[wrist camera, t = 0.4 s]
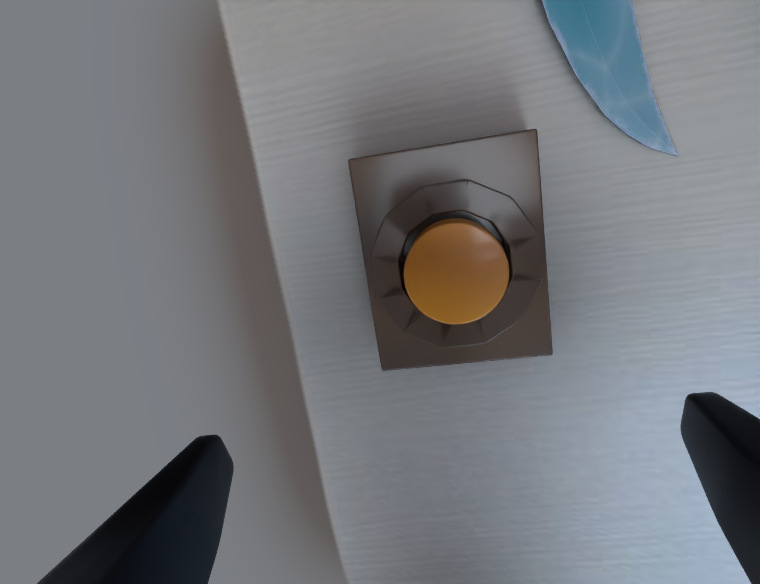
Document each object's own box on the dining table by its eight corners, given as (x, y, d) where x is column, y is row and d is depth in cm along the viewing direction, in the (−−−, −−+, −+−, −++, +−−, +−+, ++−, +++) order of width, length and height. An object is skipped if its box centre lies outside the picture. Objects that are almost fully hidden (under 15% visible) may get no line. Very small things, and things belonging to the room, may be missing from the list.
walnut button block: (542, 339, 24) (563, 371, 20) (386, 354, 25) (377, 388, 21) (527, 132, 21) (547, 123, 17) (355, 160, 22) (339, 158, 19)
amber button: (507, 306, 20) (513, 319, 18) (412, 316, 20) (410, 329, 19) (498, 211, 19) (504, 215, 17) (400, 225, 19) (396, 230, 18)
